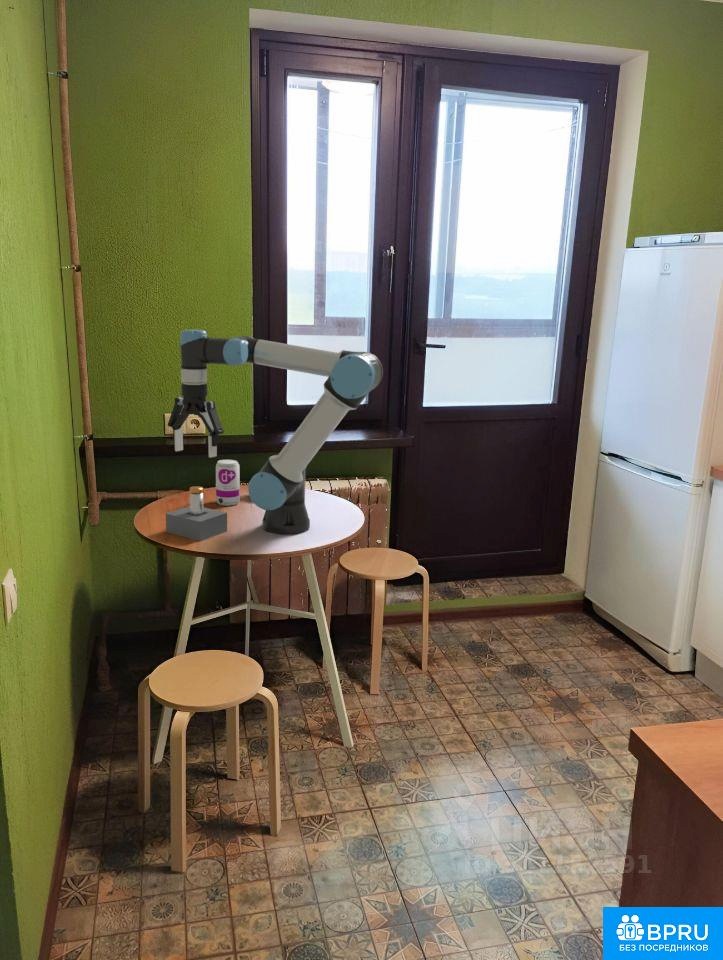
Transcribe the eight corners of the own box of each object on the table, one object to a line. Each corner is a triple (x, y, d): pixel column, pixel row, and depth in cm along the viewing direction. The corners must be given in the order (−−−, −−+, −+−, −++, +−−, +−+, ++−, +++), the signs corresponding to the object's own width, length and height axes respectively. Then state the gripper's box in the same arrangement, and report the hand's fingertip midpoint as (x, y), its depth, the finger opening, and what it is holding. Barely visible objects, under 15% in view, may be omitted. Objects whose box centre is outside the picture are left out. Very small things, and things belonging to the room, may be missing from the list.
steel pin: (206, 531, 229) (205, 487, 226) (197, 534, 226) (196, 490, 222) (196, 528, 231) (196, 485, 228) (187, 532, 228) (186, 488, 224)
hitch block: (227, 531, 230) (227, 512, 229) (200, 541, 220) (200, 521, 218) (193, 522, 237) (193, 505, 235) (166, 532, 227) (165, 513, 225)
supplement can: (237, 506, 257) (237, 464, 253) (213, 505, 257) (213, 463, 253) (241, 500, 265) (241, 459, 261) (218, 499, 265) (218, 458, 261)
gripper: (235, 385, 214) (235, 457, 219) (172, 378, 227) (174, 446, 232) (217, 388, 208) (218, 461, 213) (154, 380, 220) (156, 450, 225)
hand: (195, 453), depth 223 cm, fingers open, 13 cm apart
